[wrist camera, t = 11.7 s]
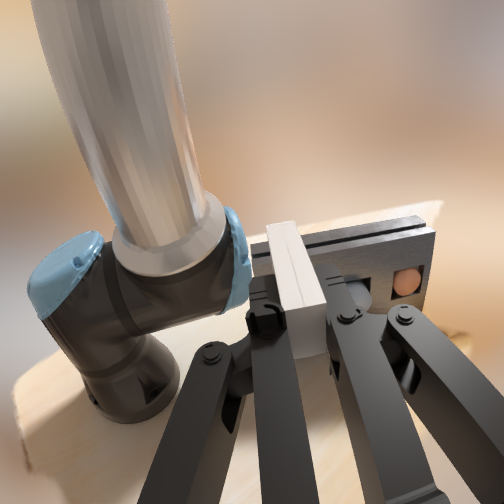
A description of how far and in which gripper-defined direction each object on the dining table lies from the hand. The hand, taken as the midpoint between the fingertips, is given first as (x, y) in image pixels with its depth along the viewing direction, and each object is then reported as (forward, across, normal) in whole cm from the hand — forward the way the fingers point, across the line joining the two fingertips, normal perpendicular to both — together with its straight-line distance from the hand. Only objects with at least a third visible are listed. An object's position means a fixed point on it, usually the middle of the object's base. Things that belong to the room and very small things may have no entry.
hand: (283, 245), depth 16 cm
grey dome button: (+13, +9, -19) cm, 25 cm away
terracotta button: (+15, +17, -19) cm, 29 cm away
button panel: (+16, +9, -26) cm, 32 cm away
